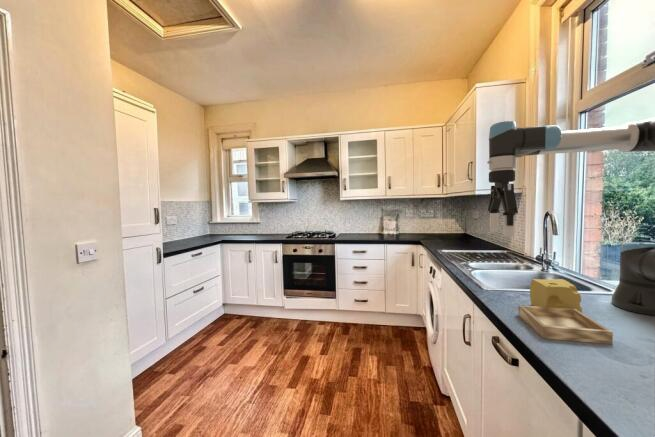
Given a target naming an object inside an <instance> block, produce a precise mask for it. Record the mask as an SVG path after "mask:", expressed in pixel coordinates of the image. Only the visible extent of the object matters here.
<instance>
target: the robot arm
mask: <svg viewBox="0 0 655 437" xmlns="http://www.w3.org/2000/svg"><path fill="white" fill-rule="evenodd" d="M488 135H489V136H488V152H489V153H488V154H489V155H488V156H489V157H488V161H487V164H488V170H489V172H488V182H489V183H491V184H492V183H494V185H490V194H489V200H488V207H487V211H488V212H489V232H499V231H500V213H501V211H500V207H501V204H502V208H503V211H504V212H503V213H502V216H503V229H502V230H503V231H502V232H503V235H502V236H503V237H514V236H515V216H516V214H518V213H519V208H518V206H517V199H516V194H515V184H514V183H511V182H515V181H516V171H515V169H516V167H517V166H516V165H517V164H516V162H517V161H516V159H517V158H522V157H527V156H539V155H554V154H555V155H556V154H568V153H582V152H583V153H586V152H597V151H598V152H600V151H613V150H614V151H615V150H618V151H620V152H622V153H628V152H629V153H631V152H655V117H651V118H648V119H644V120H639V121H634V122H633V121H630V122H626V123H625V124H622V126H621V125H620V126H613V127H611V126H610V127H600V128H588V129H578V130H577V129H576V130H565V131H562V129H561V127H560V126H559V125H555V124H553V125H549V124H548V125H547V124H545V125H540V126H539V125H536V126H527V127H526V126H525V127H517V124H516V121H514V120H511V121H509V120H507V121H506V120H505V121H504V120H503V121H499V122H496V123H494V124H492V125H491V126H490V128H489V134H488ZM619 254H620V257H619V259H620V260H619V278H618V279H619V282H618V285H617V286H616V288H615V290H614V292H613V294H612V295H611V304H612V305H614V307H617V308H620V309H623V310H627V311H629V312H633V313H637V314H642V315H647V316H653V317H654V316H655V242H623V243H622V244H621V247H620V251H619Z"/></svg>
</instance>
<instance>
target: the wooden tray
mask: <svg viewBox="0 0 655 437" xmlns="http://www.w3.org/2000/svg"><path fill="white" fill-rule="evenodd" d="M518 316H519V317H520V318H521V319H522V320H523V321H524V322H525V323H527V324H528V326H530V328H532V330H534V331H535V332H536V334H538V335H539V336H540V337H541V338H542V339H547V340H548V339H549V340H560V341H574V342H584V343H585V342H586V343H593V344H594V343H596V344H607V345H613V340H614V339H613V338H614V336H613V335H614V332H613V331H612V330H610V329H609V328H607V326H603V324H601V323H599V322H597V321H596V320H594V319H592V318H591V317H589V316H587V315H586V314H584V313H583V312H582V313H581V312H580V311H578V310H577V309H568V308H552V307H537V306H533V305H518Z"/></svg>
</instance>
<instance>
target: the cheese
mask: <svg viewBox="0 0 655 437" xmlns="http://www.w3.org/2000/svg"><path fill="white" fill-rule="evenodd" d="M529 300H530V303H531V304H530V305H531V306H537V307H552V308H568V309H577V310H578V311H580V312H581V313H583V308H582V306H581V302H582V295H581V293H580V292H578V289H577V287H576V285H574V284H572V283H570V281H567V280H566V279H562V278H557V279H556V278H555V279H550V278H549V279H544V278H543V279H542V278H541V279H539V278H537V279H536V278H531V281H530V285H529Z"/></svg>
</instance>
